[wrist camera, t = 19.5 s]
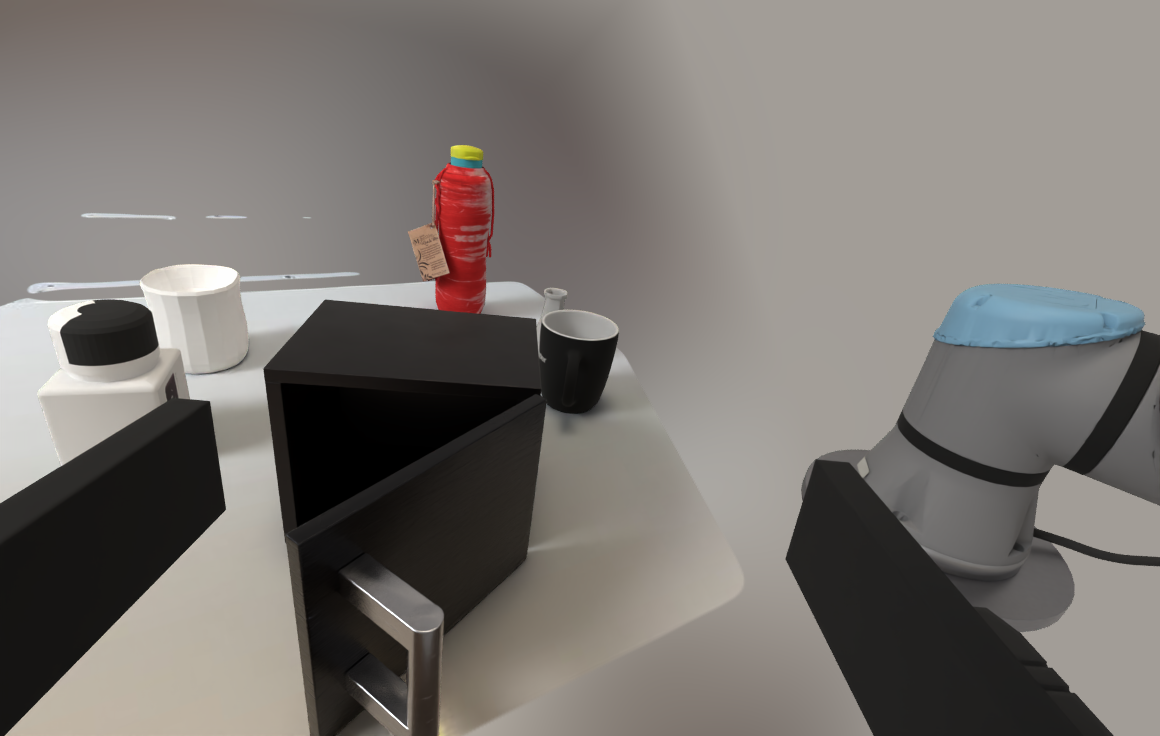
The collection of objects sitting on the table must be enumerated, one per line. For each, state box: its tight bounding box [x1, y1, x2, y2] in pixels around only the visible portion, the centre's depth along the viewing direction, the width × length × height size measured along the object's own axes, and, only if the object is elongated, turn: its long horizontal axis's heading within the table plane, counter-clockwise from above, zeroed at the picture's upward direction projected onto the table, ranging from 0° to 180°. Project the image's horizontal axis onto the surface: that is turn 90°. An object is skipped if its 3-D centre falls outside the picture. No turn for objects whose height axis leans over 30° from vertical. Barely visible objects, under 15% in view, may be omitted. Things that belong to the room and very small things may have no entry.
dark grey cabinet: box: [264, 300, 541, 543], centre depth 46 cm, size 13×18×15 cm
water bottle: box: [408, 145, 494, 314], centre depth 81 cm, size 12×8×25 cm, turn 121°
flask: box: [536, 288, 568, 353], centre depth 75 cm, size 7×7×10 cm
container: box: [37, 300, 190, 466], centre depth 47 cm, size 8×8×13 cm
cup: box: [140, 264, 249, 374], centre depth 64 cm, size 10×10×10 cm
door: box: [286, 394, 547, 736], centre depth 33 cm, size 7×18×15 cm, turn 147°
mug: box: [539, 310, 619, 413], centre depth 65 cm, size 12×9×10 cm
